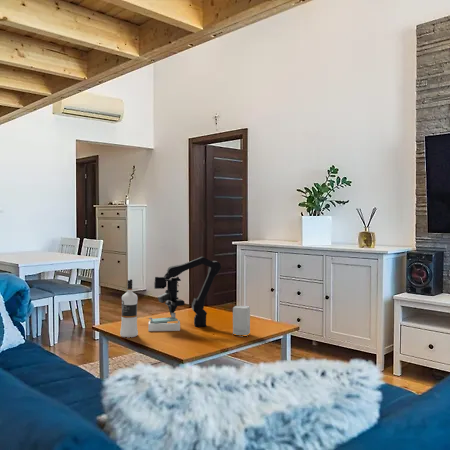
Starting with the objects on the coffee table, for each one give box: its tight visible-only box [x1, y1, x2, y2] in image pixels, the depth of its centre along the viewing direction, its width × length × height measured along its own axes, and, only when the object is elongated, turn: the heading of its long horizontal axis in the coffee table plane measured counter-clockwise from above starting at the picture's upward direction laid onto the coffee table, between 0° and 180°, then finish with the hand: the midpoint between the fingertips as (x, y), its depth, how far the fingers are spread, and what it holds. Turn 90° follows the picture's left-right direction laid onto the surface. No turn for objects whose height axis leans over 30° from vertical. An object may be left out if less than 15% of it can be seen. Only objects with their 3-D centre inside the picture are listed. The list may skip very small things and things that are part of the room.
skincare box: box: [232, 305, 251, 335], centre depth 254 cm, size 8×7×16 cm
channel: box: [147, 319, 181, 332], centre depth 263 cm, size 18×8×4 cm, turn 98°
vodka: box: [119, 279, 139, 339], centre depth 248 cm, size 9×9×30 cm
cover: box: [148, 312, 179, 323], centre depth 266 cm, size 15×8×4 cm, turn 117°
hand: (171, 315), depth 270 cm, fingers closed
